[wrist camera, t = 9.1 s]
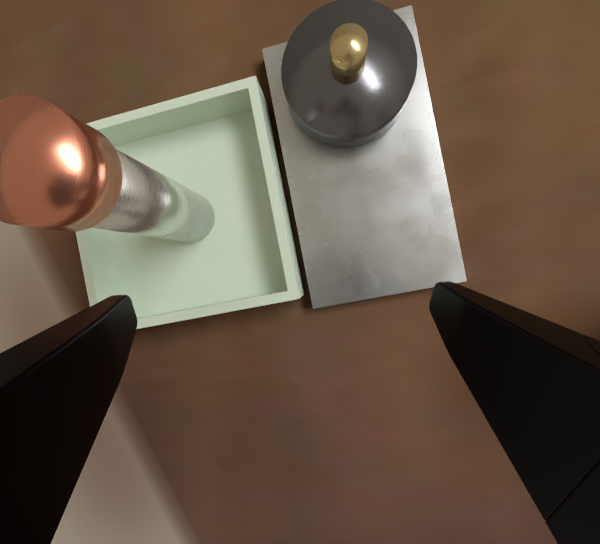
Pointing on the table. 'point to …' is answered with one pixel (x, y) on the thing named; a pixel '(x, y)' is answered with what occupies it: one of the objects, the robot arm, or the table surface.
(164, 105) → the tray
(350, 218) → the plate
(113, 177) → the glass spice jar
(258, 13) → the table surface
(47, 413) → the robot arm
